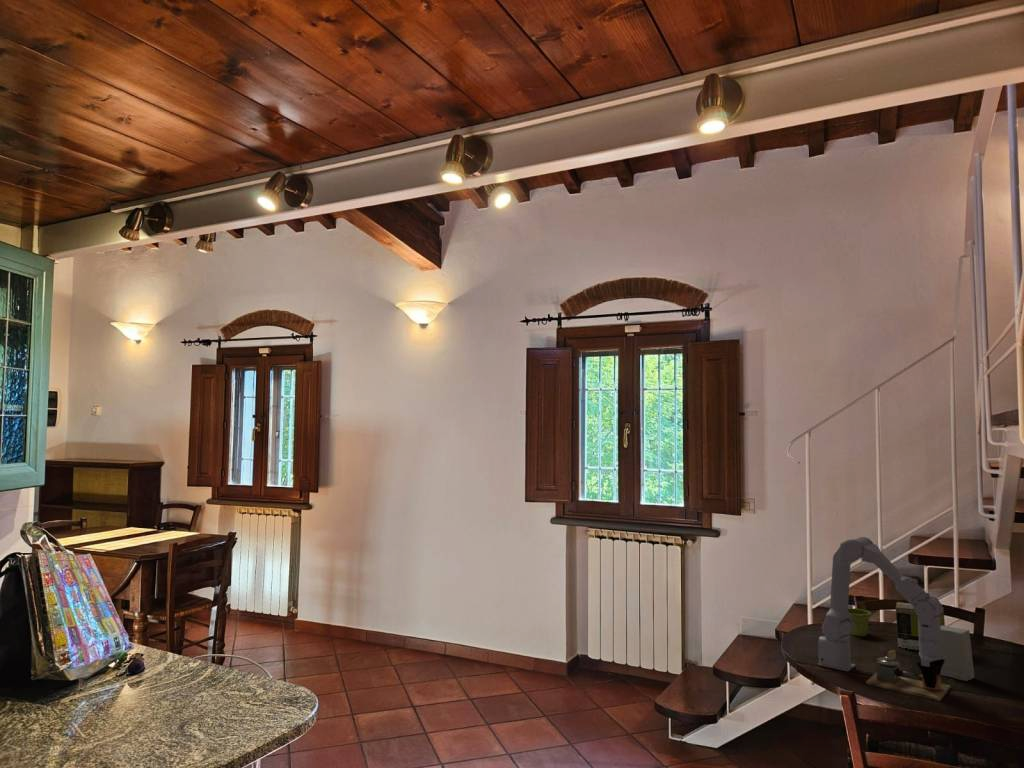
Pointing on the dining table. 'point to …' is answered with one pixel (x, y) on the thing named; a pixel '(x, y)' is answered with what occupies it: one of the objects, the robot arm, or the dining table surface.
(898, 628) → the tea box
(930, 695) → the oak board
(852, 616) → the plant pot
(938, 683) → the brown blocky piece
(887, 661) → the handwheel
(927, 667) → the robot arm
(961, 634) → the skincare box
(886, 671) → the eye block
